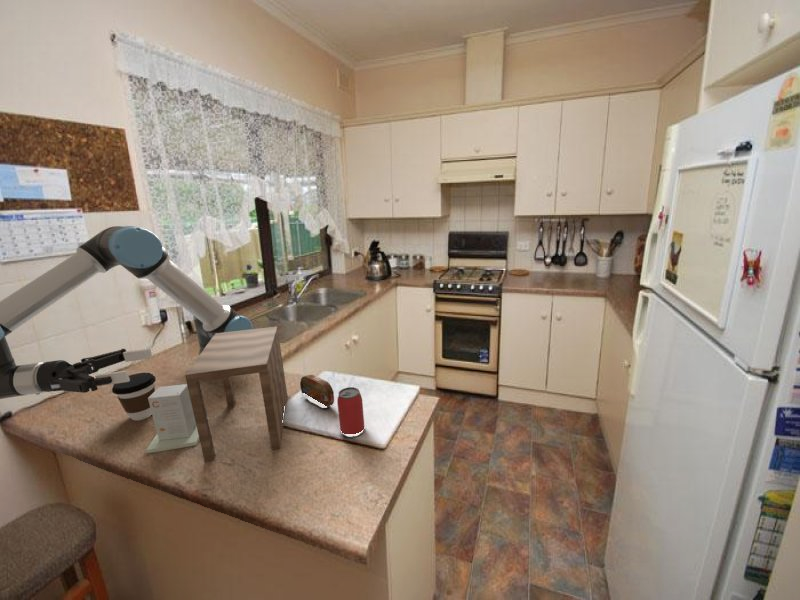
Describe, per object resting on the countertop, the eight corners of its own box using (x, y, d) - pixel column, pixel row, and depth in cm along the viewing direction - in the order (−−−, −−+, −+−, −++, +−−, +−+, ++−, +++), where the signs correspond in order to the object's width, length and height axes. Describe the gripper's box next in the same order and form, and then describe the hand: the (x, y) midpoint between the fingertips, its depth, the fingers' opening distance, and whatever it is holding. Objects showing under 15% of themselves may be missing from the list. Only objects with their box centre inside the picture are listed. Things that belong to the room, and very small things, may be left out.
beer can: (338, 428, 102) (333, 389, 99) (360, 421, 105) (357, 383, 102) (344, 441, 97) (339, 401, 93) (367, 434, 99) (364, 394, 96)
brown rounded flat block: (300, 397, 120) (297, 373, 117) (309, 393, 122) (306, 370, 120) (328, 413, 110) (326, 388, 108) (337, 408, 112) (334, 384, 110)
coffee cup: (113, 422, 111) (102, 386, 107) (148, 402, 120) (139, 369, 117) (137, 428, 107) (126, 392, 103) (172, 408, 117) (163, 374, 113)
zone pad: (164, 426, 107) (163, 423, 107) (208, 419, 109) (208, 416, 109) (146, 453, 96) (146, 450, 95) (196, 445, 98) (196, 441, 98)
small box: (199, 423, 106) (190, 383, 102) (190, 437, 100) (179, 394, 96) (169, 427, 105) (159, 386, 101) (158, 441, 99) (146, 398, 95)
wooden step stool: (229, 403, 118) (215, 333, 111) (287, 394, 121) (277, 326, 115) (204, 462, 91) (184, 374, 85) (279, 448, 95) (266, 363, 88)
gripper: (80, 368, 105) (162, 357, 109) (13, 418, 81) (120, 401, 85) (71, 344, 103) (155, 333, 107) (0, 388, 79) (111, 372, 83)
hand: (140, 363), depth 96 cm, fingers open, 13 cm apart
